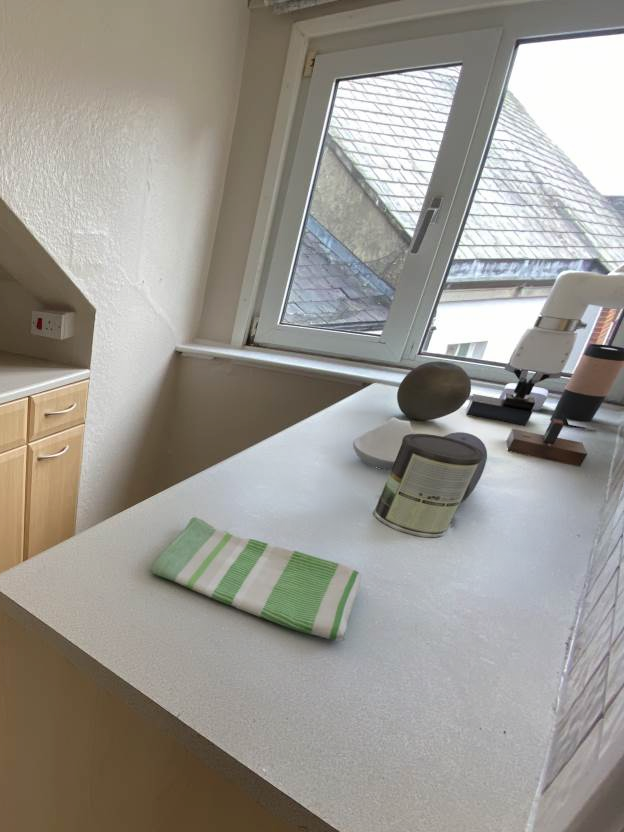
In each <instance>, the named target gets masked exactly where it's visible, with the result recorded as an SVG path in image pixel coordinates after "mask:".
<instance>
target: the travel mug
mask: <svg viewBox="0 0 624 832" xmlns="http://www.w3.org/2000/svg"><path fill="white" fill-rule="evenodd" d="M623 367H624V347H622V346H615V345H610V344H609V345H608V344H601V343H589V344H588V345H587V347H586V349H585V351H584V353H583V354H582V356H581V358H580V360H579V362H578V363H577V366H576V368H575V370H574V371H573V373H572V375H571V376H570V379H568V382H567V384H566V386H565V387H564V389H563V392H562V393H561V396H560V398H559V400H558V402H557V404H556V406H555V408H554V409H553V412H552V415H551V416H550V419H549V420H550V422H551V421H552V419H553V418H554V419H559V420H562V421H563V424H564V426H563V427H569V428H576V429H586V427H585V426H579V425H574V424H569V421H568V420H570V421H574V422H575V421H577V422H585V423H586V422H587V423H589V422H592V421H593V419H594V417H595V416H596V414H597V412H598V411H599V409H600V407H601V406H602V404H603V402H604V401H605V399H606V397H607V396H608V394H609V393H610V390H611V389H612V387H613V385H614V383H615V381H616V380H617V378H618V376H619V374H620V372H621V371H622V369H623Z"/></svg>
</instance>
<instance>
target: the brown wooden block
mask: <svg viewBox="0 0 624 832" xmlns="http://www.w3.org/2000/svg"><path fill="white" fill-rule="evenodd" d="M543 436H544V434H543V433H536V432H532V431H526V430H521V429H516V428H511V431H510V432H509V435H508V437H507V438H506V448H508V450H507V452H510V451H512V452H511V453H514V452H516V453H515V454H520V455H525V456H528V455H529V456H528V457H534V458H537V459H543V460H547V461H552V462H556V463H560V464H566V465H570V466H575V467H578V468H579V467H581V466H582V465H583V463H584V462H585V460H586V458H587V456H588V452H587V450H586V448H585V445H584V442H581V441H577V440H571V439H566V438H563V437H562V438H561V437H557V439H556V441H555V442H554V444H551V443H546V442H544V439H543Z"/></svg>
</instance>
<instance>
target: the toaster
mask: <svg viewBox="0 0 624 832" xmlns="http://www.w3.org/2000/svg"><path fill="white" fill-rule="evenodd" d="M512 396H513V394H507V393H505V396H504V398H503V399H499V398H500V397H499V398H498V397H494V396H493V397H492V396H487V395H482V394H476V393H473V394H472V396H471V398H470V400H469V402H468V404H467V407H466V412H465V413H466V414H465V415H466V416H468V417H474V418H479V419H485V420H488V421H494V422H499V423H505V424H510V425H516V426H521V427H526V426H527V424H528V422H529V421H530V419H531V416H532V414H533V412H534V410H532V408H533V406H534V405H535V400H534V398H531V397H528V400H522V399H516V398H512Z"/></svg>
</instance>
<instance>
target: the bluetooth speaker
mask: <svg viewBox="0 0 624 832" xmlns="http://www.w3.org/2000/svg"><path fill="white" fill-rule="evenodd" d="M442 436H443V437H447V438H451V439H455V440H458V441H462V442H465V443H467V444H470V445H472V446H474V447H476V448H478V449H479V450H481V451H482V452H483V453H484V457H483V459H482V460H481V461H480V463H479V465H478V467H477V469H476V471H475V473H474V475H473V477H472V479H471V481H470V483H469V486H468V488H467V489H466V492H465V494H464V496H463V498H462V500H461V502H460V504H462V503H463V502H464V501H466V499H468V498H469V497H470V495H471V494H472V493H473V492H474V490H475V488H476V486H477V485H478V483H479V481H480V479H481V478H482V475H483V473H484V470H485V468H486V464H487V459H488V451H487V447H486V445H485V443H484V441H482V440H481V438H479V437H477V436H476V435H474V434H471V433H468V432H461V431H460V432H451V433H448V434H445V435H442Z"/></svg>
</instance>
